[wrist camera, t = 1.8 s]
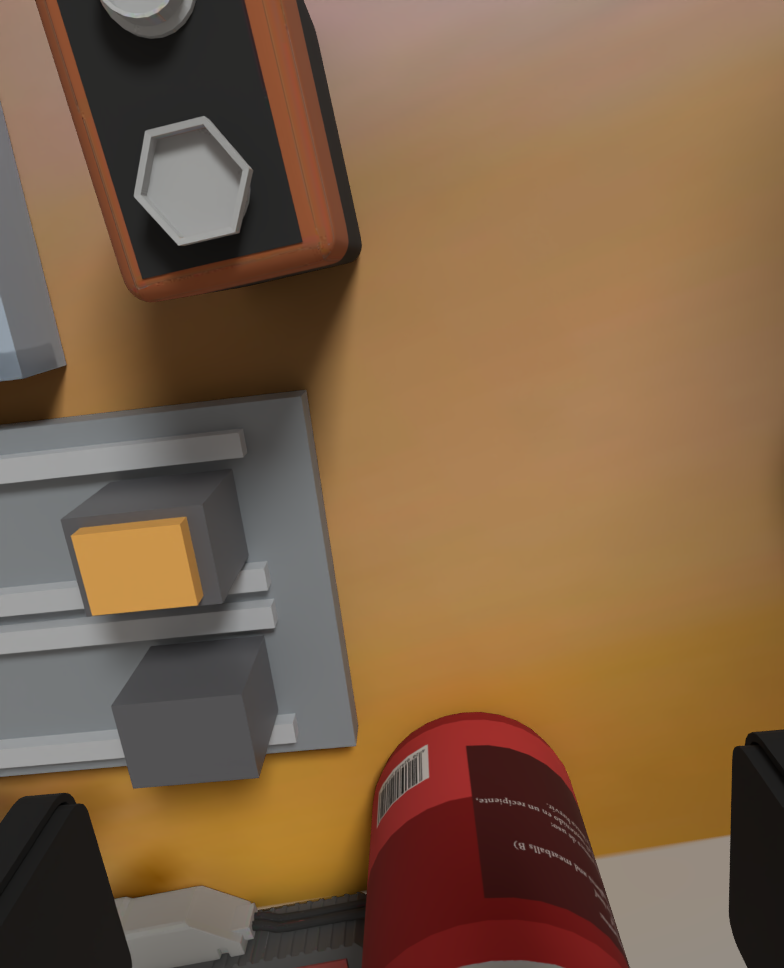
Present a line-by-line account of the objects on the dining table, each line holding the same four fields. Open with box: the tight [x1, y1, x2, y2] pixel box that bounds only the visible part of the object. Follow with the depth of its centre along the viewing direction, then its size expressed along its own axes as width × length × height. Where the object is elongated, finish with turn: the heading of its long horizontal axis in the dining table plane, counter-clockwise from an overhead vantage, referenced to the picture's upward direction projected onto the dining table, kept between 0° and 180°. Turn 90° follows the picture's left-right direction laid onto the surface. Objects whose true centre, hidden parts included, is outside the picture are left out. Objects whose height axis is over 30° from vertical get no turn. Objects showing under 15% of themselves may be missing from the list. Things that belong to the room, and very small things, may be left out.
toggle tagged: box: [60, 469, 249, 617], centre depth 22 cm, size 3×4×4 cm
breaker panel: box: [0, 390, 358, 777], centre depth 25 cm, size 13×16×2 cm
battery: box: [35, 0, 362, 302], centre depth 17 cm, size 4×7×10 cm, turn 12°
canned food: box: [362, 712, 630, 968], centre depth 23 cm, size 8×8×11 cm
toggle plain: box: [111, 635, 278, 788], centre depth 24 cm, size 3×4×4 cm
